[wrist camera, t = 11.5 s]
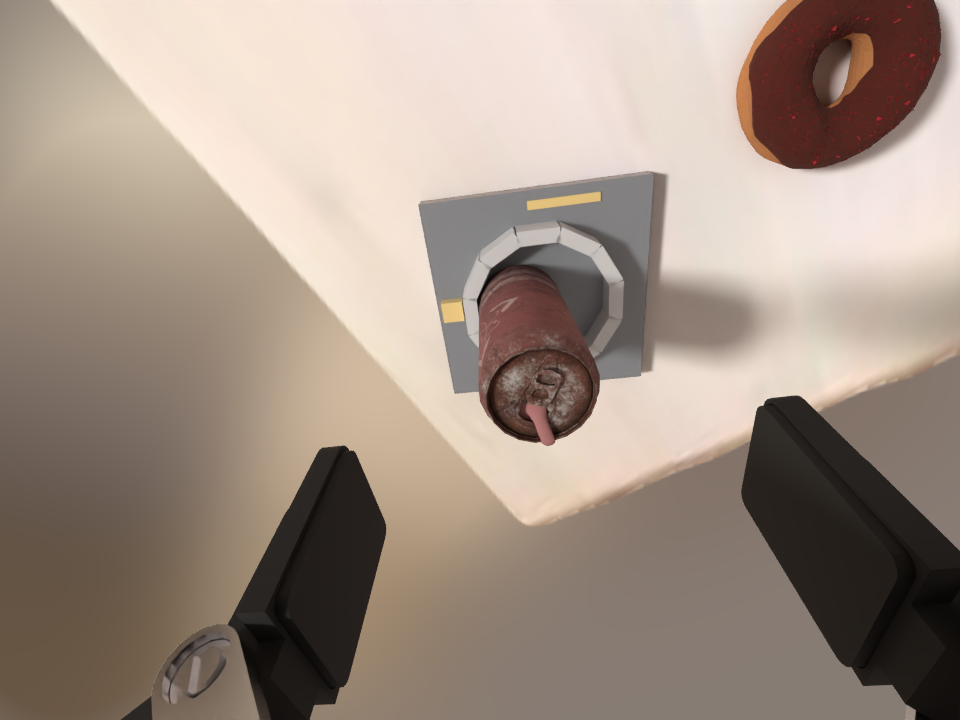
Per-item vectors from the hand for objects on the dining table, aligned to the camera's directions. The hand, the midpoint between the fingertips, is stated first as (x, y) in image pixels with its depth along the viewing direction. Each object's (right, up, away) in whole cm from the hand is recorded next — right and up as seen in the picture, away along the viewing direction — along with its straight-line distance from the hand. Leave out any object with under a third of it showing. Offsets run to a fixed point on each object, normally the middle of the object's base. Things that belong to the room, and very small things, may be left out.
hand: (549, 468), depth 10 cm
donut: (+19, +20, +17) cm, 33 cm away
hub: (+3, +8, +24) cm, 26 cm away
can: (+1, +7, +23) cm, 24 cm away
